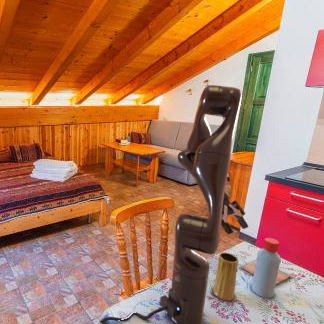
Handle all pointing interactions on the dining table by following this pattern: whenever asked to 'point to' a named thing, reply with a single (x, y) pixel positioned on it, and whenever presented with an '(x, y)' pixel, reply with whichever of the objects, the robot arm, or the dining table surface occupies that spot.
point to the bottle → (265, 273)
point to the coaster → (251, 268)
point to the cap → (271, 245)
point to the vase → (226, 276)
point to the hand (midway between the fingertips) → (238, 230)
